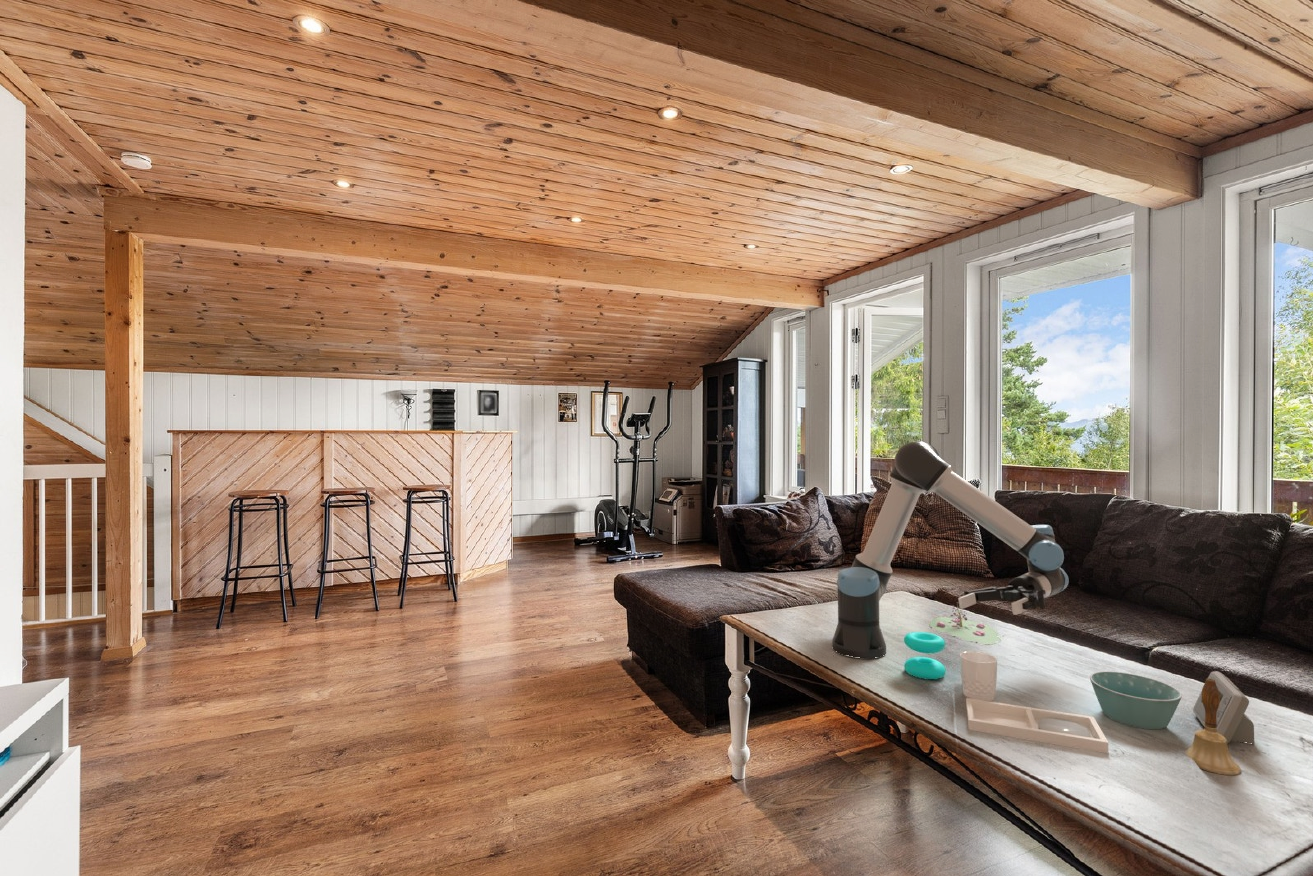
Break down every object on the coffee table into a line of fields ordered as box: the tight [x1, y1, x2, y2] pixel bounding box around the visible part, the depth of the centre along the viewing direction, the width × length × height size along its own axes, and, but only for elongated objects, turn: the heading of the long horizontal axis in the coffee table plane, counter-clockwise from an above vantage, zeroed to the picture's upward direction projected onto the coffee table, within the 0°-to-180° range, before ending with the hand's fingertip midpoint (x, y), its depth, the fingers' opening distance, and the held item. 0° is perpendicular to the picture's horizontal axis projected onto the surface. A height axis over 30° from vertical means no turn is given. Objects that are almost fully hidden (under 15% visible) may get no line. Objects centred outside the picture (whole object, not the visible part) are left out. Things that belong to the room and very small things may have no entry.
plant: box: [929, 601, 1002, 646], centre depth 195 cm, size 25×21×9 cm
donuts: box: [903, 631, 947, 680], centre depth 160 cm, size 10×10×10 cm
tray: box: [965, 697, 1110, 754], centre depth 127 cm, size 24×12×3 cm, turn 65°
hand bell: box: [1185, 678, 1242, 776], centre depth 114 cm, size 8×8×16 cm
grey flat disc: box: [1038, 718, 1091, 738], centre depth 125 cm, size 9×9×1 cm
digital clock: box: [1192, 670, 1255, 745], centre depth 127 cm, size 16×9×11 cm, turn 140°
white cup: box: [959, 651, 998, 702], centre depth 144 cm, size 8×8×10 cm
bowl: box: [1089, 671, 1183, 730], centre depth 131 cm, size 16×16×8 cm
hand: (986, 606), depth 152 cm, fingers open, 13 cm apart
